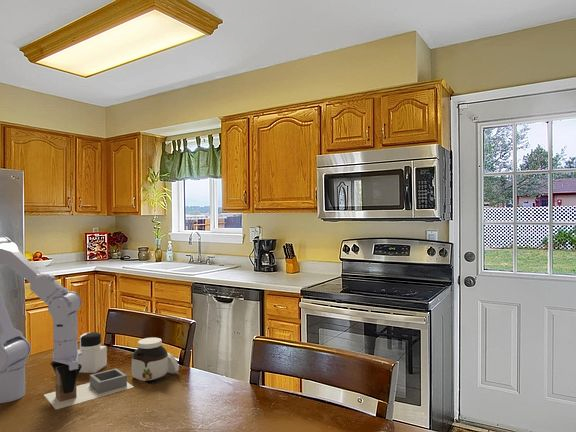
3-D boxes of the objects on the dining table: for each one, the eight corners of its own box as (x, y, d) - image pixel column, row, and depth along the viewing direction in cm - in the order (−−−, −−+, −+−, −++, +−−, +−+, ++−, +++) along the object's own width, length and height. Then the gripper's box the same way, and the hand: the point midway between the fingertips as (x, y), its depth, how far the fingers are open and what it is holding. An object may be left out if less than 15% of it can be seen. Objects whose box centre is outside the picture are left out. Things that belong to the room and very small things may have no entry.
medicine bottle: (107, 367, 138) (106, 330, 138) (95, 376, 131) (94, 337, 131) (86, 367, 139) (86, 330, 139) (73, 375, 132) (72, 336, 131)
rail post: (60, 401, 111) (59, 371, 110) (55, 397, 113) (55, 367, 113) (76, 397, 113) (76, 367, 113) (72, 392, 116) (71, 363, 116)
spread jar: (127, 382, 125) (127, 343, 125) (149, 369, 136) (148, 332, 136) (164, 386, 123) (164, 346, 123) (183, 372, 134) (182, 335, 134)
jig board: (55, 413, 106) (55, 397, 106) (43, 398, 115) (43, 383, 115) (134, 390, 120) (134, 376, 120) (117, 378, 129) (117, 365, 129)
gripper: (90, 341, 111) (91, 393, 111) (73, 330, 121) (73, 378, 121) (60, 347, 106) (61, 401, 106) (45, 335, 117) (46, 384, 117)
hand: (66, 389), depth 113 cm, fingers closed on rail post, 4 cm apart
